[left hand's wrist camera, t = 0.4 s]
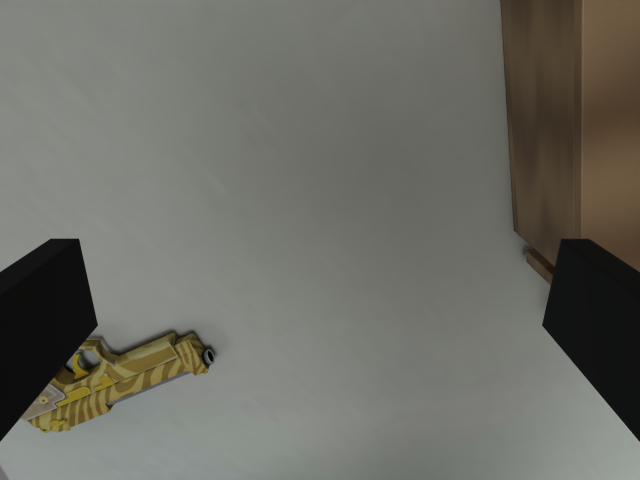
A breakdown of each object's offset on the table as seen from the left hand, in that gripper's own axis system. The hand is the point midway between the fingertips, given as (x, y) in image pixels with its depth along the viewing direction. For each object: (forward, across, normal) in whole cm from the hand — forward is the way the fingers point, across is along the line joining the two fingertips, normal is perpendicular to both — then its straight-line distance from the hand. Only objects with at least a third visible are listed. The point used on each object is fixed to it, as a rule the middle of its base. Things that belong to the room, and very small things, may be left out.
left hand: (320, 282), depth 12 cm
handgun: (+27, +24, +21) cm, 42 cm away
